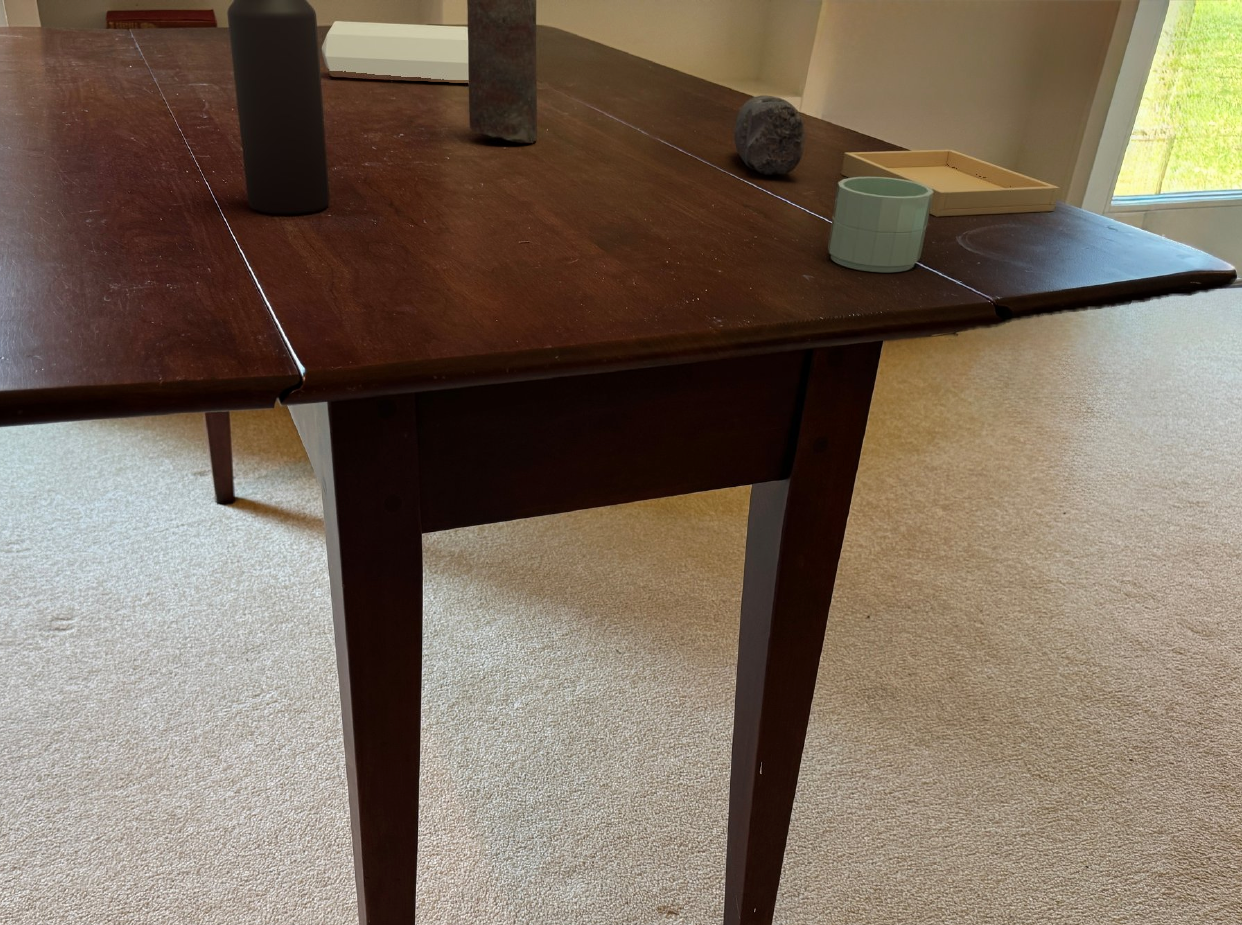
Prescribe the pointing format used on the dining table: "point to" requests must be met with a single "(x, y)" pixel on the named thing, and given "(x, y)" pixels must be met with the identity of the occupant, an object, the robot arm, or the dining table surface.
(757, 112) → the perforated stone tool
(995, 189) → the serving tray
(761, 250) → the dining table surface
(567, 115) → the dining table surface
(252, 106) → the bottle
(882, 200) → the mint green planter pot
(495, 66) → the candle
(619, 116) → the dining table surface
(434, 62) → the white chamfered bar
